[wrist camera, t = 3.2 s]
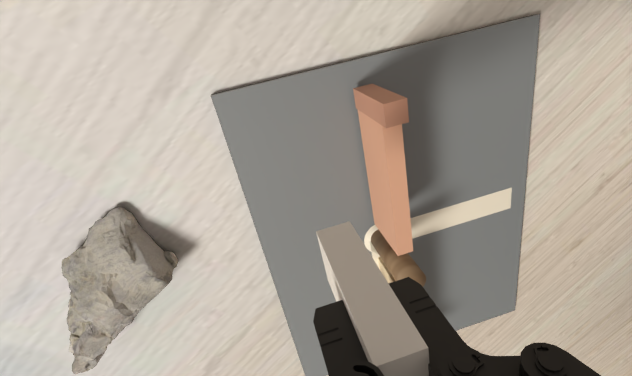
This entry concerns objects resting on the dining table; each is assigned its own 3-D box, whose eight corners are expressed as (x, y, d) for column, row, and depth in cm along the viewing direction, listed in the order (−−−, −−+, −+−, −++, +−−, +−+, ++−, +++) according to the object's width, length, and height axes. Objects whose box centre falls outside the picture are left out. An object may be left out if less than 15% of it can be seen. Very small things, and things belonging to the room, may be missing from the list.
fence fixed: (369, 231, 30) (399, 276, 25) (391, 225, 30) (425, 267, 25) (387, 343, 36) (413, 397, 31) (404, 337, 37) (434, 390, 31)
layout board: (535, 14, 26) (540, 14, 25) (512, 307, 39) (515, 310, 39) (211, 94, 23) (210, 95, 23) (306, 378, 37) (307, 382, 36)
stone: (22, 309, 27) (-10, 356, 23) (110, 198, 24) (89, 230, 21) (105, 339, 30) (87, 384, 26) (191, 241, 27) (185, 276, 24)
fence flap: (389, 219, 29) (419, 257, 24) (373, 224, 29) (401, 263, 24) (372, 83, 24) (407, 98, 19) (352, 88, 24) (383, 104, 19)
